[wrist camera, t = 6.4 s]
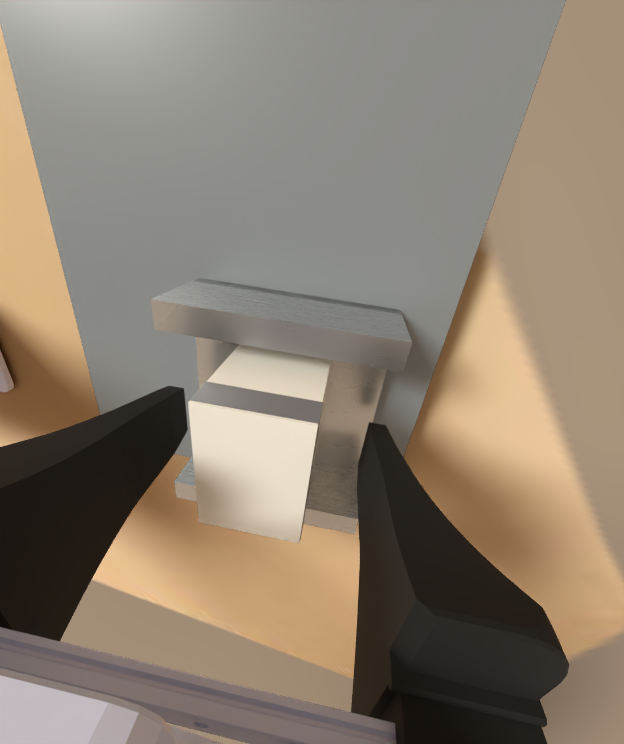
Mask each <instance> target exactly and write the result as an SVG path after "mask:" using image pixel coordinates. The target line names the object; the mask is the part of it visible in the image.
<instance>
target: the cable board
mask: <svg viewBox="0 0 624 744" xmlns="http://www.w3.org/2000/svg"><path fill="white" fill-rule="evenodd" d="M565 1H566V0H0V25H1V28H2V32H3V36H4V40H5V44H6V48H7V52H8V56H9V60H10V64H11V68H12V71H13V75H14V79H15V83H16V87H17V91H18V95H19V99H20V103H21V107H22V111H23V115H24V118H25V122H26V126H27V130H28V134H29V138H30V142H31V146H32V150H33V154H34V158H35V162H36V165H37V169H38V173H39V177H40V181H41V185H42V189H43V193H44V197H45V201H46V205H47V208H48V212H49V216H50V220H51V224H52V228H53V232H54V236H55V240H56V244H57V248H58V252H59V255H60V259H61V263H62V267H63V271H64V275H65V279H66V283H67V287H68V291H69V295H70V298H71V302H72V306H73V310H74V314H75V318H76V322H77V326H78V330H79V334H80V338H81V342H82V345H83V349H84V353H85V357H86V361H87V365H88V369H89V373H90V377H91V381H92V385H93V389H94V392H95V396H96V400H97V404H98V408H99V412H100V415H102V414H104V413H107V412H109V411H111V410H114V409H116V408H118V407H121V406H123V405H125V404H127V403H130V402H132V401H134V400H136V399H139V398H141V397H143V396H145V395H147V394H150V393H152V392H154V391H157V390H159V389H161V388H164V387H167V386H175V387H180V388H184V393H185V404H186V415H187V426H188V430H187V432H186V434H185V436H184V438H183V440H182V441H181V443H180V445H179V447H178V448H177V450H176V452H175V453H174V454H176V455H181V456H186V457H191V456H192V455H193V452H192V441H191V430H190V419H189V408H188V402H189V399H190V398H191V397H192V396H193V395H194V394H195V392H196V391H197V390H198V389H199V380H198V364H197V348H196V337H194V336H188V335H182V334H177V333H171V332H165V331H159V330H154V322H153V315H152V307H151V299H152V298H154V297H157V296H159V295H161V294H164V293H166V292H168V291H170V290H173V289H175V288H177V287H179V286H182V285H184V284H186V283H189V282H191V281H193V280H195V279H198V278H204V279H211V280H217V281H223V282H229V283H236V284H242V285H248V286H254V287H261V288H267V289H273V290H279V291H286V292H292V293H298V294H305V295H311V296H317V297H323V298H330V299H336V300H342V301H348V302H355V303H361V304H367V305H374V306H380V307H386V308H392V309H399V310H400V311H401V314H402V316H403V319H404V322H405V324H406V327H407V330H408V332H409V335H410V338H411V340H412V345H411V349H410V352H409V355H408V359H407V362H406V365H405V369H404V372H397V371H391V370H387V371H386V375H385V378H384V382H383V386H382V389H381V393H380V397H379V400H378V404H377V408H376V411H375V415H374V419H373V423H376V424H382V425H386V427H387V428H388V430H389V432H390V434H391V436H392V438H393V440H394V442H395V444H396V445H397V447H398V449H399V451H400V453H401V454H402V456H403V457H404V454H405V451H406V449H407V446H408V443H409V440H410V437H411V435H412V432H413V429H414V426H415V423H416V420H417V418H418V415H419V412H420V409H421V406H422V404H423V401H424V398H425V395H426V392H427V390H428V387H429V384H430V381H431V378H432V375H433V373H434V370H435V367H436V364H437V361H438V359H439V356H440V353H441V350H442V347H443V345H444V342H445V339H446V336H447V333H448V330H449V328H450V325H451V322H452V319H453V316H454V314H455V311H456V308H457V305H458V302H459V299H460V297H461V294H462V291H463V288H464V285H465V283H466V280H467V277H468V274H469V271H470V269H471V266H472V263H473V260H474V257H475V254H476V252H477V249H478V246H479V243H480V240H481V238H482V235H483V232H484V229H485V226H486V224H487V221H488V218H489V215H490V212H491V209H492V207H493V204H494V201H495V198H496V195H497V192H498V190H499V187H500V184H501V181H502V178H503V176H504V173H505V170H506V167H507V164H508V162H509V159H510V156H511V153H512V150H513V148H514V144H515V142H516V139H517V136H518V133H519V131H520V128H521V125H522V122H523V119H524V117H525V114H526V111H527V108H528V105H529V103H530V100H531V97H532V94H533V91H534V88H535V86H536V83H537V80H538V77H539V74H540V71H541V69H542V66H543V63H544V60H545V57H546V55H547V52H548V49H549V46H550V43H551V40H552V38H553V35H554V32H555V29H556V27H557V24H558V21H559V18H560V15H561V12H562V10H563V7H564V4H565Z"/></svg>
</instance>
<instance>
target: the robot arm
mask: <svg viewBox="0 0 624 744" xmlns="http://www.w3.org/2000/svg"><path fill="white" fill-rule="evenodd" d="M13 388H14V383H13V381H12V378H11V376H10V373H9V370H8V368H7V365H6V363H5V360H4V358H3V355H2V353H1V350H0V392H8V391H10V390H11V389H13ZM187 430H188V426H187V415H186V404H185V393H184V388H180V387H175V386H167V387H164V388H161V389H159V390H157V391H154V392H152V393H150V394H147V395H145V396H143V397H141V398H139V399H136V400H134V401H132V402H130V403H127V404H125V405H123V406H121V407H118V408H116V409H114V410H111V411H109V412H107V413H104V414H102V415H99V416H97V417H94V418H92V419H89V420H87V421H84V422H82V423H79V424H76V425H73V426H71V427H68V428H65V429H62V430H59V431H56V432H53V433H50V434H46V435H43V436H40V437H36V438H32V439H29V440H25V441H21V442H18V443H14V444H10V445H7V446H3V447H0V744H222V743H219V742H217V741H214V740H211V739H209V738H206V737H203V736H200V735H198V734H195V733H192V732H189V731H187V730H184V729H181V728H178V727H175V726H172V725H169V724H167V723H171V724H175V725H179V726H182V727H187V728H190V729H194V730H198V731H202V732H206V733H210V734H214V735H218V736H222V737H226V738H230V739H233V740H238V741H241V742H245V743H249V744H547V742H546V739H545V736H544V733H543V730H542V727H545V726H546V725H547V719H546V716H545V713H544V710H543V708H542V705H541V702H540V699H541V698H542V697H543V696H544V695H546V694H547V693H548V692H550V691H551V690H552V689H553V688H555V687H556V686H557V685H559V684H560V683H561V682H562V681H563V679H564V678H565V677H566V675H567V673H568V668H569V663H568V661H567V659H566V656H565V654H564V652H563V650H562V647H561V645H560V643H559V640H558V638H557V636H556V633H555V631H554V629H553V627H552V625H551V623H550V621H549V619H548V617H547V615H546V613H545V611H544V610H543V608H542V607H541V606H540V605H539V604H538V603H536V602H535V601H534V600H533V599H532V598H530V597H529V596H528V595H527V594H526V593H524V592H523V591H522V590H521V589H520V588H519V587H517V586H516V585H515V584H514V583H513V582H511V581H510V580H509V579H508V578H507V577H505V576H504V575H503V574H502V573H501V572H500V571H499V570H498V569H497V568H495V567H494V566H493V565H492V564H491V563H490V562H489V561H488V560H487V559H486V558H485V557H484V556H483V555H482V554H480V553H479V552H478V551H477V550H476V549H475V548H474V547H473V546H472V545H471V544H470V543H469V542H468V541H467V540H466V538H465V537H464V536H463V535H462V534H461V533H460V532H459V531H458V530H457V529H456V528H455V527H454V526H453V525H452V524H451V522H450V521H449V520H448V519H447V518H446V517H445V516H444V514H443V513H442V512H441V511H440V510H439V508H438V507H437V506H436V505H435V503H434V502H433V501H432V500H431V498H430V497H429V496H428V494H427V493H426V492H425V490H424V489H423V487H422V486H421V484H420V483H419V482H418V480H417V479H416V477H415V476H414V474H413V473H412V471H411V469H410V468H409V466H408V464H407V463H406V461H405V460H404V458H403V456H402V454H401V453H400V451H399V449H398V447H397V445H396V444H395V442H394V440H393V438H392V436H391V434H390V432H389V430H388V428H387V427H386V425H382V424H376V423H371V422H369V424H368V428H367V432H366V435H365V439H364V443H363V447H362V451H361V454H360V458H359V462H358V475H357V503H358V522H359V540H360V572H359V595H358V616H357V633H356V650H355V666H354V680H353V694H352V708H351V712H347V711H343V710H339V709H335V708H331V707H327V706H323V705H319V704H314V703H310V702H306V701H302V700H298V699H294V698H290V697H286V696H282V695H277V694H273V693H269V692H265V691H261V690H257V689H252V688H249V687H244V686H240V685H236V684H232V683H228V682H224V681H220V680H216V679H212V678H208V677H203V676H199V675H195V674H191V673H187V672H183V671H179V670H175V669H171V668H166V667H162V666H158V665H154V664H150V663H146V662H141V661H138V660H134V659H129V658H125V657H121V656H117V655H113V654H109V653H105V652H100V651H97V650H92V649H88V648H84V647H80V646H76V645H72V644H68V643H64V642H60V640H61V638H62V636H63V633H64V632H65V630H66V628H67V626H68V624H69V622H70V620H71V618H72V616H73V614H74V612H75V610H76V608H77V605H78V604H79V602H80V600H81V598H82V596H83V594H84V592H85V590H86V589H87V587H88V585H89V583H90V581H91V579H92V578H93V576H94V574H95V572H96V570H97V568H98V566H99V565H100V563H101V561H102V559H103V558H104V556H105V554H106V553H107V551H108V549H109V547H110V546H111V544H112V542H113V540H114V539H115V537H116V535H117V534H118V532H119V530H120V529H121V527H122V526H123V524H124V522H125V521H126V519H127V517H128V516H129V514H130V513H131V511H132V510H133V508H134V507H135V505H136V504H137V502H138V501H139V500H140V498H141V497H142V496H143V494H144V493H145V492H146V490H147V489H148V488H149V486H150V485H151V484H152V482H153V481H154V480H155V478H156V477H157V476H158V475H159V473H160V472H161V471H162V469H163V468H164V467H165V465H166V464H167V463H168V461H169V460H170V459H171V457H172V456H173V455H174V453H175V452H176V450H177V448H178V447H179V445H180V443H181V441H182V440H183V438H184V436H185V434H186V432H187ZM166 722H167V723H166Z"/></svg>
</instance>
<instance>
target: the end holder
mask: <svg viewBox="0 0 624 744" xmlns="http://www.w3.org/2000/svg"><path fill="white" fill-rule="evenodd" d="M151 307H152V315H153V322H154V330H159V331H165V332H171V333H177V334H182V335H188V336H194V337H196V348H197V364H198V380H199V388H200V387H201V386H202V385H203V383H204V382H205V381H206V382H207V380H208V379H209V378H210V377H211V376H212V375H213V374H214V373H215V371H216V370H217V369H218V368H219V367H220V366H221V365H222V363H223V362H224V361H225V360H226V359H227V358H228V357H229V356H230V354H231V353H232V352H233V351H234V350H235V349H236V348H237V347H238V345H239V344H241V345H246V346H252V347H258V348H264V349H270V350H275V351H281V352H287V353H293V354H299V355H304V356H310V357H316V358H322V359H328V360H331V365H330V371H329V377H328V383H327V389H326V395H325V401H324V407H323V413H322V419H321V425H320V431H319V438H318V444H317V449H316V454H315V460H314V465H313V471H312V476H311V482H310V487H309V493H308V499H307V505H306V511H305V517H304V523H303V524H307V525H311V526H316V527H321V528H326V529H331V530H335V531H340V532H345V533H350V534H355V531H356V528H357V524H358V503H357V475H358V462H359V458H360V454H361V451H362V447H363V443H364V439H365V435H366V432H367V428H368V424H369V422H371V423H373V419H374V415H375V411H376V408H377V404H378V400H379V397H380V393H381V389H382V386H383V382H384V378H385V375H386V371H387V370H391V371H397V372H404V369H405V365H406V362H407V359H408V355H409V352H410V349H411V345H412V340H411V338H410V335H409V332H408V330H407V327H406V324H405V322H404V319H403V316H402V314H401V311H400V310H399V309H392V308H386V307H380V306H374V305H367V304H361V303H355V302H348V301H342V300H336V299H330V298H323V297H317V296H311V295H305V294H298V293H292V292H286V291H279V290H273V289H267V288H261V287H254V286H248V285H242V284H236V283H229V282H223V281H217V280H211V279H204V278H198V279H195V280H193V281H191V282H189V283H186V284H184V285H182V286H179V287H177V288H175V289H173V290H170V291H168V292H166V293H164V294H161V295H159V296H157V297H154V298H152V299H151ZM174 484H175V491H176V498H181V499H186V500H191V501H196V502H197V496H196V485H195V474H194V463H193V455H192V456H191V458H190V459H189V461H188V462H187V464H186V465H185V467H184V468H183V470H182V471H181V473H180V474H179V476H178V477H177V478H176V480H175V481H174Z"/></svg>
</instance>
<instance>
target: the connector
mask: <svg viewBox="0 0 624 744" xmlns="http://www.w3.org/2000/svg"><path fill="white" fill-rule="evenodd" d="M330 365H331V360H328V359H322V358H316V357H310V356H304V355H299V354H293V353H287V352H281V351H275V350H270V349H264V348H258V347H252V346H246V345H241V344H239V345H238V347H237V348H236V349H235V350H234V351H233V352H232V353H231V354H230V356H229V357H228V358H227V359H226V360H225V361H224V362H223V363H222V365H221V366H220V367H219V368H218V369H217V370H216V371H215V373H214V374H213V375H212V376H211V377H210V378H209V379H208V380H207V382H206V381H205V382H204V383H203V385H202V386H201V387H200V388H199V389H198V390H197V391H196V392H195V394H194V395H193V396H192V397H191V398H190V399H189V402H188V408H189V419H190V430H191V441H192V452H193V463H194V474H195V485H196V496H197V507H198V518H199V523H204V524H208V525H213V526H218V527H223V528H228V529H232V530H237V531H242V532H247V533H252V534H256V535H261V536H266V537H271V538H275V539H280V540H285V541H290V542H295V543H299V541H300V539H301V533H302V528H303V523H304V517H305V511H306V505H307V499H308V493H309V487H310V482H311V476H312V471H313V465H314V460H315V454H316V449H317V444H318V438H319V431H320V425H321V419H322V413H323V407H324V401H325V395H326V389H327V383H328V377H329V371H330Z"/></svg>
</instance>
